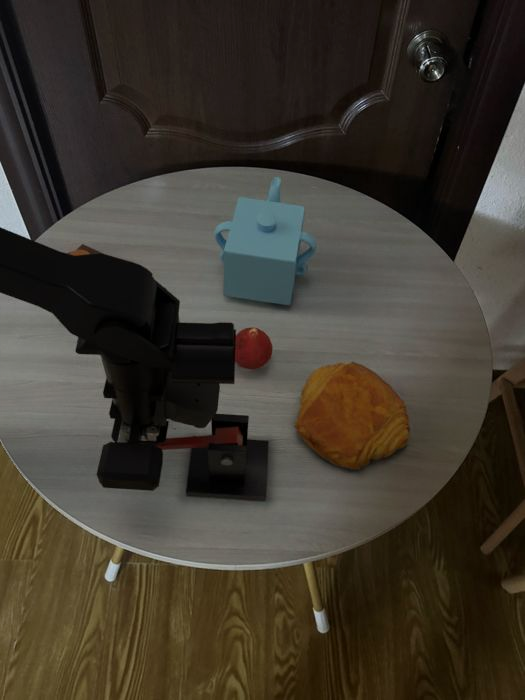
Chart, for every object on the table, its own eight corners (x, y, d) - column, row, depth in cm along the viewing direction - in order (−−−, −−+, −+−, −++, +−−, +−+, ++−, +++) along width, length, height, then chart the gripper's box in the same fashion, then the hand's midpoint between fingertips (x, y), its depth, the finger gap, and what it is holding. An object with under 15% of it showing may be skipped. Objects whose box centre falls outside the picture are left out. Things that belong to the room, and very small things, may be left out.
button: (82, 277, 94) (80, 269, 92) (64, 268, 95) (61, 260, 93) (97, 263, 96) (95, 254, 94) (79, 254, 97) (76, 246, 95)
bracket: (186, 496, 77) (181, 461, 70) (193, 439, 82) (189, 400, 74) (265, 501, 78) (270, 466, 70) (268, 444, 82) (272, 406, 74)
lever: (144, 472, 75) (137, 463, 73) (152, 428, 78) (145, 419, 76) (240, 466, 72) (235, 457, 70) (244, 422, 76) (239, 412, 74)
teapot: (305, 314, 96) (315, 255, 86) (207, 299, 97) (205, 238, 87) (317, 236, 107) (327, 175, 97) (229, 223, 108) (229, 161, 97)
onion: (236, 383, 88) (237, 350, 81) (226, 352, 91) (226, 317, 85) (275, 376, 89) (279, 342, 83) (264, 345, 92) (267, 310, 86)
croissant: (342, 371, 93) (347, 333, 87) (424, 435, 84) (435, 398, 78) (270, 423, 86) (269, 385, 80) (351, 497, 78) (356, 461, 72)
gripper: (204, 457, 57) (207, 521, 69) (221, 304, 68) (221, 383, 81) (83, 450, 57) (108, 514, 69) (120, 298, 68) (136, 377, 80)
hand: (149, 442), depth 75 cm, fingers closed, pressing on lever
